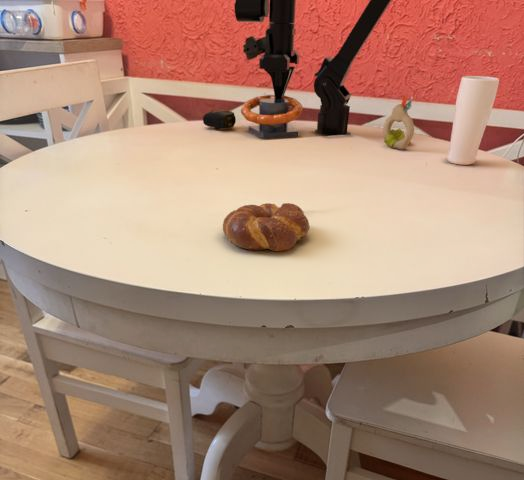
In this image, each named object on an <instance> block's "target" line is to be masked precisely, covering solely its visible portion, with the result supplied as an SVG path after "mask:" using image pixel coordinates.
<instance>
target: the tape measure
mask: <svg viewBox="0 0 524 480" xmlns="http://www.w3.org/2000/svg"><path fill="white" fill-rule="evenodd" d="M236 120H237V119H236V115H235V112H234V111H230V110H223V109H220V110H219V109H218V110H217V109H216V110H211V111H209V112H207V113H205V114H204V115H203V116H202V123H203V125H205V126H207V127H209V128H214V129H215V130H218V131H219V130H221V129H222V130H226V129H231V128H233V127H235V124H236V122H237V121H236Z"/></svg>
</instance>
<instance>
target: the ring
mask: <svg viewBox="0 0 524 480" xmlns="http://www.w3.org/2000/svg"><path fill="white" fill-rule="evenodd" d="M261 99H275V94H265V95H259V96H254V97H252V98H250V99H248V100H246V101H245V102H244V103H243V105H242V107H241V108H240V113H241V115H242V116H243V118H244V119H245V120H246V121H248V122H251V123H254V124H256V125H259V124H262V125H278V124H284V123H288V124H289V123H291V122H293V121H294V120H296V119H298V118H300V116H301V114H302V112H303V108H304V107H303V104H301V102H300V101H299V100H298V99H296V98H295V97H292V96H287V95H285V94H284V95H283V96H282V98H281V99H284V100H288V101H289V108H291V110H288V112H287V113H284V114H278V115H260V114H259V113H257V112H254V111H252V110H253V109H255V108H257V107H259V101H260V100H261Z"/></svg>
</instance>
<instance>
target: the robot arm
mask: <svg viewBox="0 0 524 480" xmlns="http://www.w3.org/2000/svg"><path fill="white" fill-rule="evenodd" d="M296 1H297V0H235V2H234V15H235V16H234V17H235V20H236V21H237V22H238V23H263V22H264V21H265V18H268V28H266V30H265V36H263V37H261V38H258V39H257V38H256V37H255V36H254V35H251V36H249V37H246V38H245V43H244V44H243V45H242V47H243V50H242V52H243V53H244V54H245V57H246V60H247V61H249V60H253V59H255V58H258V56H260V55H261V56H260V58H259V60H258V61H259V62H258V63H259V64H258V66H259V69H260V70H264V72H266V73H267V74H268V75H269V76H270V78H271V84H272V88H273V95H275V99H281V98H282V96H283V95H285V94H286V91H287V88H288V87H289V84H290V81H291V79H292V76H293V74H294V72H295V69H296V66H293V65H292V66H290V65H291V64H295V65H298V64H300V53H299V51H297V50H296V49H294V41H295V35H296V34H297V33H296V31H297V29H296V28H295V23H296V22H295V21H296V4H297V3H296ZM392 1H393V0H369V1H368V4H367V5H366V6H365V8H364V10H363V12H362V13H361V15H360V16H359V17H358V19H357V21H356V23H355V24H354V26H353V27H352V29H351V31H350V33H349V34H348V36H347V38H346V39H345V41H344V42H343V44H342V46H341V47H340V49H339V51H338V52H337V53H336V55H334V57H331V56H327V57H324V59H323V61H322V63H321V65H320V68H319V69H318V71H316V73H314V77H316V78H315V79H314V81H313V89H314V90H313V91H314V93H315V95H316V97H318V98H319V101H320V106H319V107H320V108H319V111H318V112H317V121H316V122H317V124H316V129H314V132H315V133H317V134H320V135H322V136H324V137H333V136H336V137H337V136H349V135H351V132H349V131H348V127H349V117H350V110H351V109H350V108H351V106H350V105H348V104H349V101H350V100H351V97H352V94H351V93H350V91H349V90H348V89H347V87H346V86H345V82H346V80H347V77H348V75H349V73H350V70H351V67H352V65H353V62H354V61H355V59H356V58H357V56H358V55H359V53H360V52H361V50H362V49H363V47H364V45H365V43H366V42H367V40H368V39H369V37H370V35H371V34H372V32H374V29H375V28H376V26H377V25H378V24H379V22H380V20H381V18H382V17H383V16H384V14H385V12H386V11H387V9H388V8H389V6H390V5H391V3H392Z"/></svg>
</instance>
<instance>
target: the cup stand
mask: <svg viewBox="0 0 524 480" xmlns="http://www.w3.org/2000/svg"><path fill="white" fill-rule="evenodd" d="M289 108H290V107H289V101H288V100H284V99H261V100H260V101H259V106H258V114H260V115H278V114H284V113H287V112H289ZM248 132H249V133H251V134H253V135H254V136H256V137H259V138H260V139H262V140H269V139H271V140H272V139H285V138H297V137H299V132H300V131H299V130H297V129H294V128H292V127H290V126H289V123H284V124H278V125H262V124H258V125H249V126H248Z"/></svg>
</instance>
